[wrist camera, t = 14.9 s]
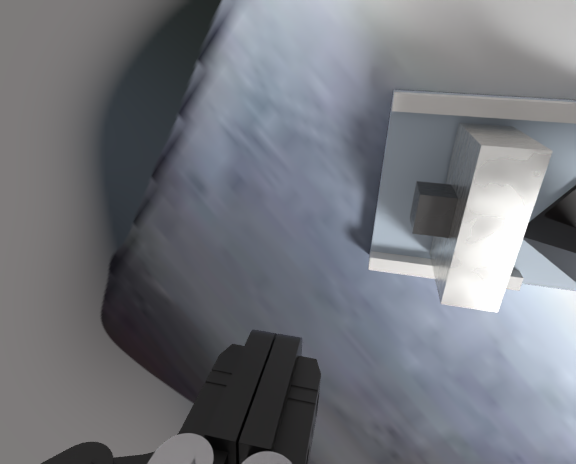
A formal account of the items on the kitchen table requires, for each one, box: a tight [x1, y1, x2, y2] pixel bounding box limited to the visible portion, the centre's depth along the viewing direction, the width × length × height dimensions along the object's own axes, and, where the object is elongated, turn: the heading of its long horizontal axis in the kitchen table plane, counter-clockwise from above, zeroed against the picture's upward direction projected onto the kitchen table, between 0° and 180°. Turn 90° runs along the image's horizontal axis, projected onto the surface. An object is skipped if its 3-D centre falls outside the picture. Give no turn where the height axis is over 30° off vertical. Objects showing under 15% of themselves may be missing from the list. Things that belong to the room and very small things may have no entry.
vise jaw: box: [410, 123, 553, 313], centre depth 22 cm, size 5×9×6 cm, turn 178°
